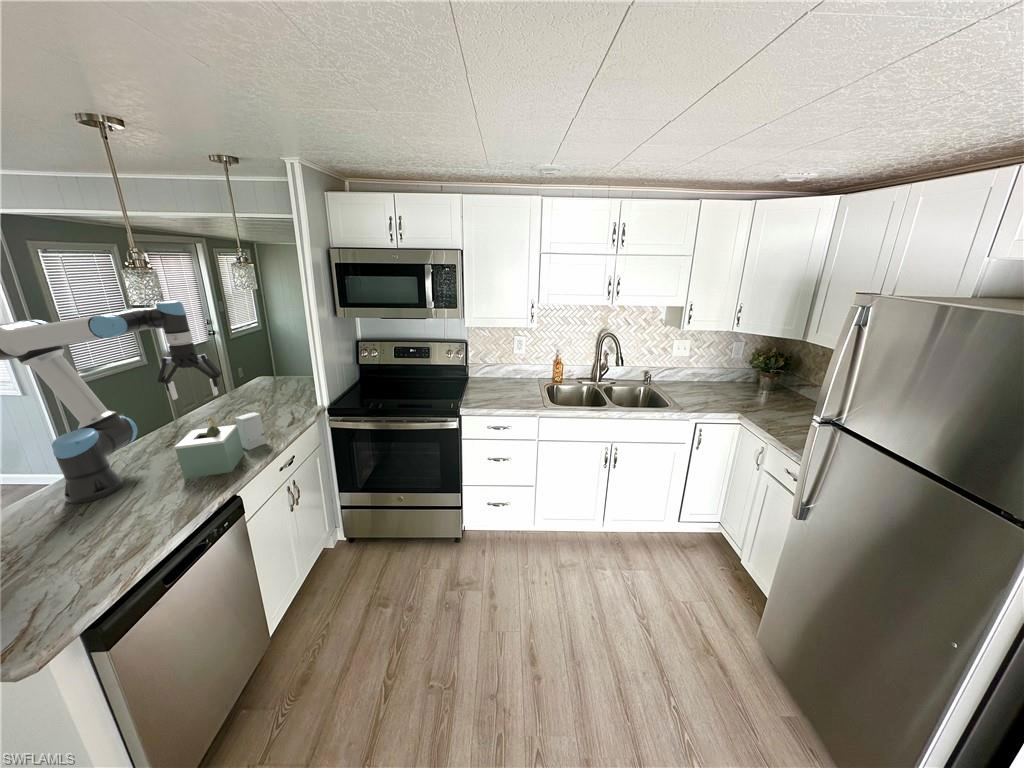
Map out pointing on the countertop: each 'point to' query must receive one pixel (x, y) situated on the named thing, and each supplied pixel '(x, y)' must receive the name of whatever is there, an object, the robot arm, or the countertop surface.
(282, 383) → the countertop surface
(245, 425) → the skincare box
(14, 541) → the countertop surface
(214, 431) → the vegetable
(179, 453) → the box
